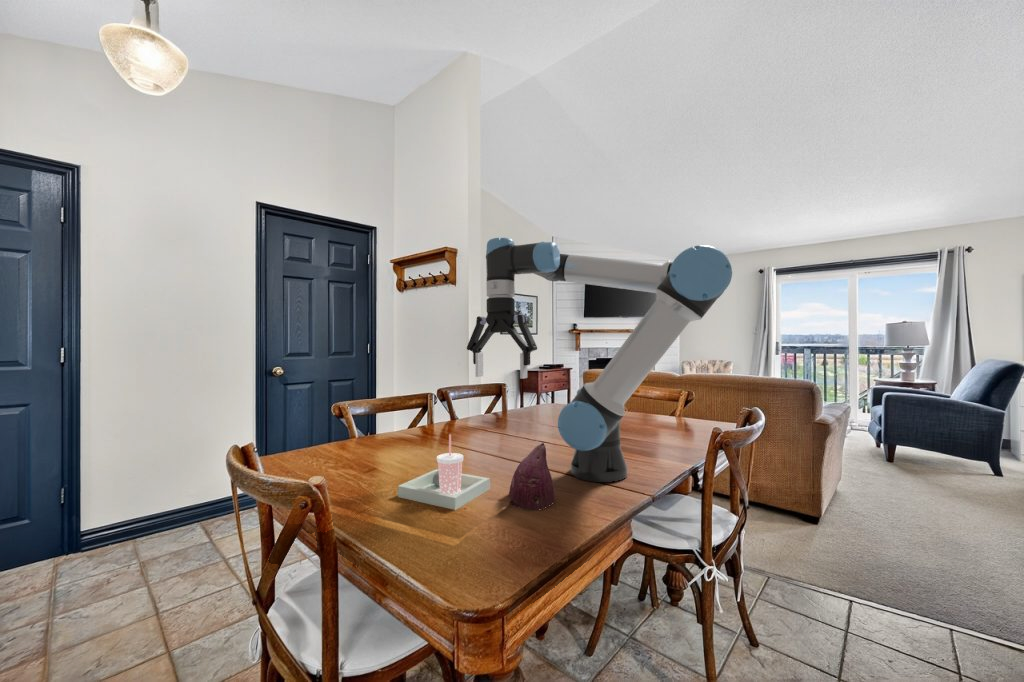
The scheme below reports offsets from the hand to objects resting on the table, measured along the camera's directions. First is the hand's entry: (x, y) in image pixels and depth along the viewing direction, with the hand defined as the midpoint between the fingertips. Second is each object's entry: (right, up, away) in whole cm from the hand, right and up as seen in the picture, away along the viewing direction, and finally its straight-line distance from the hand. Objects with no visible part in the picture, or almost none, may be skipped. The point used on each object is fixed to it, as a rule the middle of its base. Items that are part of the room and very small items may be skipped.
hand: (501, 377), depth 110 cm
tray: (-13, -27, -14) cm, 33 cm away
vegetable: (+7, -27, -16) cm, 32 cm away
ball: (-15, -26, -9) cm, 31 cm away
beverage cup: (-11, -26, -15) cm, 32 cm away
